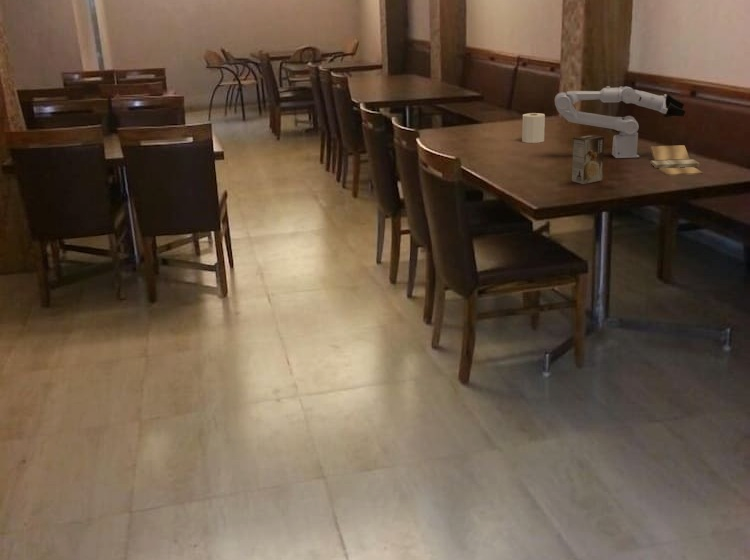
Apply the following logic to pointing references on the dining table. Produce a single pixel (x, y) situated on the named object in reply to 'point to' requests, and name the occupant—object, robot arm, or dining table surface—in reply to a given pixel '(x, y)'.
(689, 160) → the floor board
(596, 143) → the coffee box
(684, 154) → the board
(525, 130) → the toilet paper
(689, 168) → the plank
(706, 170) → the dining table surface
